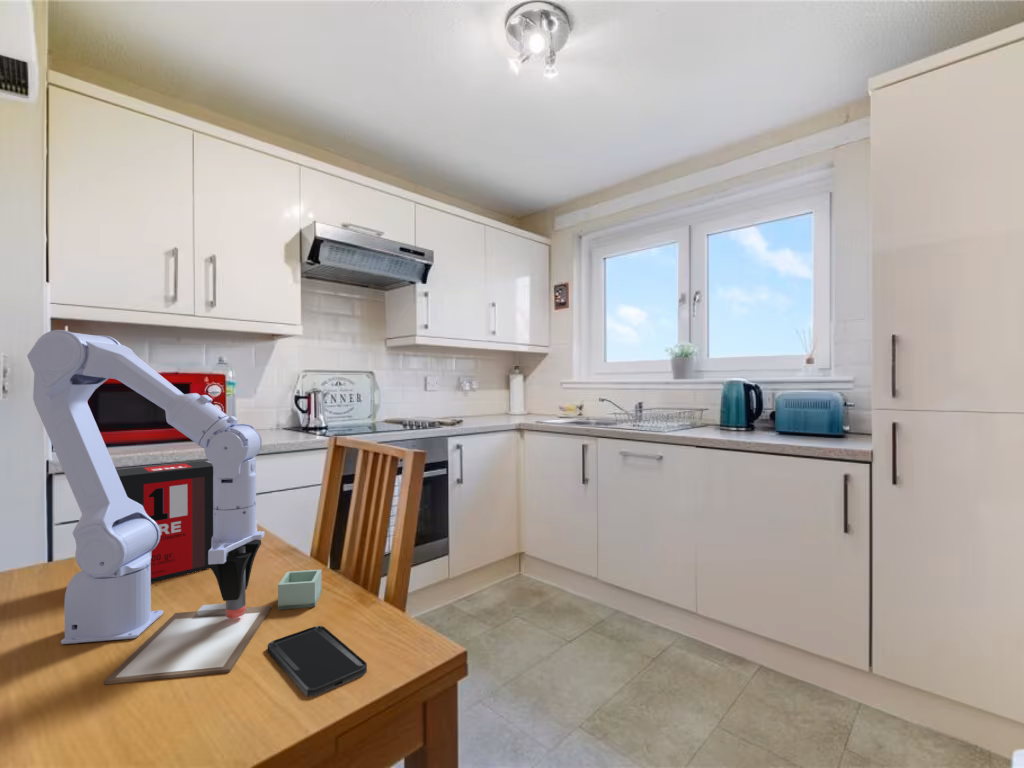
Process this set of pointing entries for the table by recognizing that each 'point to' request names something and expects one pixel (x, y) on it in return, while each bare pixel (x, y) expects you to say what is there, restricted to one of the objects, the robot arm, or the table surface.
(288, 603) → the box
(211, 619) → the clipboard
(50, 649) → the table surface
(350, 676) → the phone
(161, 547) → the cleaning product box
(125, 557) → the robot arm
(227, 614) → the marker
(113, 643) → the table surface
